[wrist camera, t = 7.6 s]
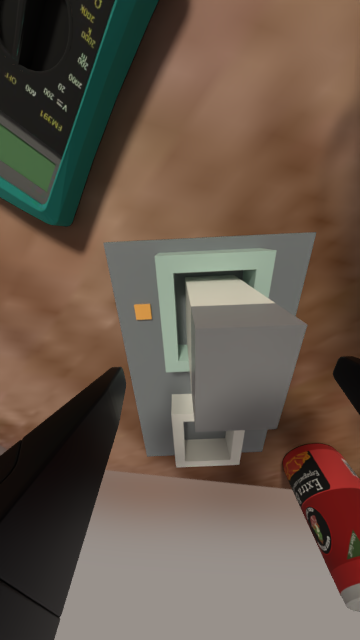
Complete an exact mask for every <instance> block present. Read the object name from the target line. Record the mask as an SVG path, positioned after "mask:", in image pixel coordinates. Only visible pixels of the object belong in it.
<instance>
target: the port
mask: <svg viewBox="0 0 360 640" xmlns="http://www.w3.org/2000/svg"><path fill="white" fill-rule="evenodd" d="M276 251H277V250H270V249H263V248H252V249H231V250H210V251H189V252H169V253H158V254H157V255H155V265H156V275H157V286H158V296H159V306H160V316H161V327H162V337H163V347H164V357H165V367H166V372H186V371H190V370H189V359H188V348H187V345H178V331H177V313H176V296H175V278H174V273H190V272H211V271H232V270H243V278H242V281H243V282H245V283H246V284H248V285H249V286H251V287H252V288H254V289H255V290H257V291H258V292H260V293H261V294H263V295H264V296H266V297H267V298H269V292H270V286H271V281H272V275H273V269H274V263H275V257H276Z"/></svg>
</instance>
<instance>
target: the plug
mask: <svg viewBox="0 0 360 640" xmlns="http://www.w3.org/2000/svg"><path fill="white" fill-rule="evenodd" d="M185 295H186V337H187V348H188V359H189V370H190V380H191V391H192V402H193V413H194V423H195V432H209V431H236V430H263V429H277V427H278V423H279V420H280V416H281V413H282V409H283V406H284V403H285V399H286V396H287V392H288V389H289V386H290V382H291V379H292V375H293V372H294V369H295V365H296V362H297V358H298V355H299V351H300V348H301V345H302V341H303V338H304V334H305V331H306V328H307V324H306V323H304V322H303V321H301V320H300V319H298V318H297V317H295V316H294V315H292V314H291V313H289V312H288V311H286V310H285V309H283V308H282V307H280V306H279V305H277V304H276V303H274V302H273V301H272V300H270V299H269V298H267V297H266V296H264V295H263V294H261V293H260V292H258V291H257V290H255V289H254V288H252V287H251V286H249V285H248V284H246V283H245V282H243V281H242V280H240V279H239V278H237V277H236V276H234V275H224V276H198V277H185Z"/></svg>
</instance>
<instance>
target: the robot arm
mask: <svg viewBox="0 0 360 640" xmlns="http://www.w3.org/2000/svg"><path fill="white" fill-rule="evenodd" d="M333 376H334V378H335V380H336V381H337V383H338V384H339V386H340V387H341V389H342V390H343V392H344V393H345V395H346V396H347V397H348V399H349V400H350V402H351V403H352V405H353V406H354V408H355V409H356V410H357V412H358V413H359V414H360V359H359V358H356V357H353V356H344V357H340V358H339V359H338V361H337V364H336V366H335V369H334V371H333ZM125 389H126V381H125V376H124V372H123V369H122V367H112V368H110V369H109V370H108V371H106V372H105V373H104V374H103V375H101V376H100V377H99V378H98V379H96V380H95V381H94V382H93V383H91V384H90V385H89V386H88V387H86V388H85V389H84V390H83V391H81V392H80V393H79V394H78V395H76V396H75V397H74V398H72V399H71V400H70V401H69V402H67V403H66V404H65V405H64V406H62V407H61V408H60V409H59V410H57V411H56V412H55V413H54V414H52V415H51V416H50V417H49V418H47V419H46V420H45V421H44V422H42V423H41V424H40V425H39V426H37V427H36V428H35V429H34V430H32V431H31V432H30V433H28V434H27V435H26V436H25V437H23V439H22V440H20V441H18V442H17V443H16V444H15V445H13V446H12V447H11V448H9V449H8V450H7V451H6V452H4V453H3V454H2V455H1V456H0V640H54V638H55V635H56V632H57V628H58V625H59V622H60V618H59V617H60V616H61V614H62V611H63V608H64V604H65V601H66V598H67V595H68V591H69V588H70V585H71V581H72V577H73V575H74V571H75V568H76V564H77V561H78V558H79V554H80V551H81V548H82V544H83V541H84V538H85V535H86V532H87V528H88V525H89V522H90V518H91V515H92V511H93V508H94V505H95V502H96V498H97V495H98V492H99V488H100V485H101V482H102V478H103V475H104V472H105V469H106V465H107V462H108V459H109V455H110V452H111V449H112V445H113V442H114V439H115V435H116V432H117V429H118V425H119V420H120V415H121V410H122V405H123V399H124V394H125Z"/></svg>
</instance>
